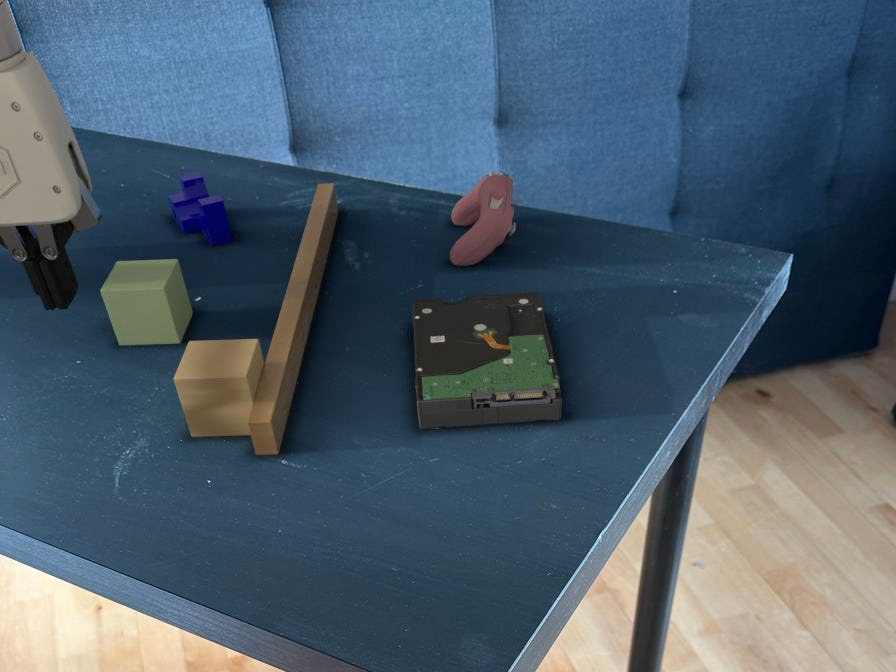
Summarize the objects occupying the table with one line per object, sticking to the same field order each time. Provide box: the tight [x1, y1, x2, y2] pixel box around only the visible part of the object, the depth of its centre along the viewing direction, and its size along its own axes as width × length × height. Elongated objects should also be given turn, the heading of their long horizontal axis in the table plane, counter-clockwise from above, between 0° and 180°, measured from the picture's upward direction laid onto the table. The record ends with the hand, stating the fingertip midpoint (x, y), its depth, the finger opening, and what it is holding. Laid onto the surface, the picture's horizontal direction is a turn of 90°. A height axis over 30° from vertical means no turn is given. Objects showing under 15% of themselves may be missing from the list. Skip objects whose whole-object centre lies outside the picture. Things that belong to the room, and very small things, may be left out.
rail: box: [248, 182, 339, 456], centre depth 77 cm, size 2×40×3 cm, turn 0°
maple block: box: [173, 338, 265, 438], centre depth 66 cm, size 5×5×5 cm
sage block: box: [100, 258, 194, 346], centre depth 76 cm, size 5×5×5 cm
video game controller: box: [449, 169, 517, 267], centre depth 84 cm, size 10×5×7 cm, turn 0°
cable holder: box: [167, 171, 233, 246], centre depth 89 cm, size 8×4×4 cm, turn 28°
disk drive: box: [411, 291, 563, 430], centre depth 70 cm, size 10×3×15 cm
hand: (61, 301), depth 75 cm, fingers closed
